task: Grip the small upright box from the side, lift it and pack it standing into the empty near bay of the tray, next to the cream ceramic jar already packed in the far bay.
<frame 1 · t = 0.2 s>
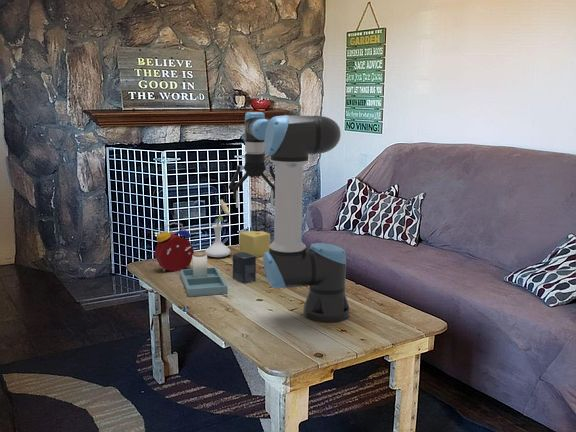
hand: (254, 207, 230), 27 cm above the table, tool pointing down, fingers open, 13 cm apart
tray: (203, 285, 220), on the table
flower in vase: (219, 255, 261), on the table
alarm clock: (175, 271, 237), on the table
yellow block: (255, 254, 263), on the table
jar: (200, 277, 227), point 1 cm above the table, touching tray
box: (244, 281, 226), on the table
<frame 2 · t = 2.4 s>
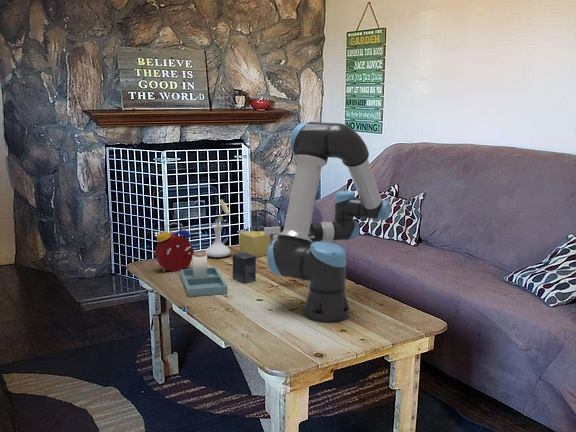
hand: (268, 235, 225), 18 cm above the table, tool horizontal, fingers open, 13 cm apart
nothing on the table moved.
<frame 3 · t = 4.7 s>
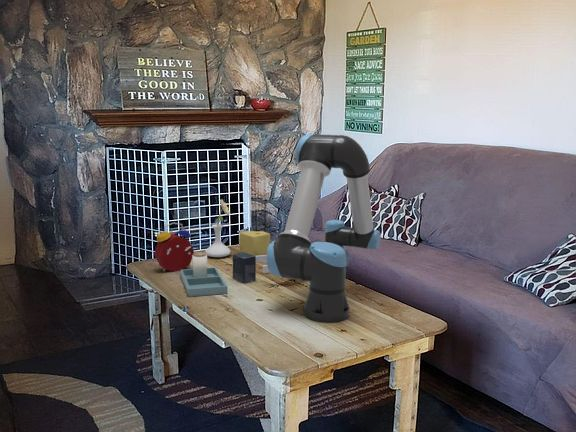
hand: (258, 264, 227), 6 cm above the table, tool horizontal, fingers open, 13 cm apart
nothing on the table moved.
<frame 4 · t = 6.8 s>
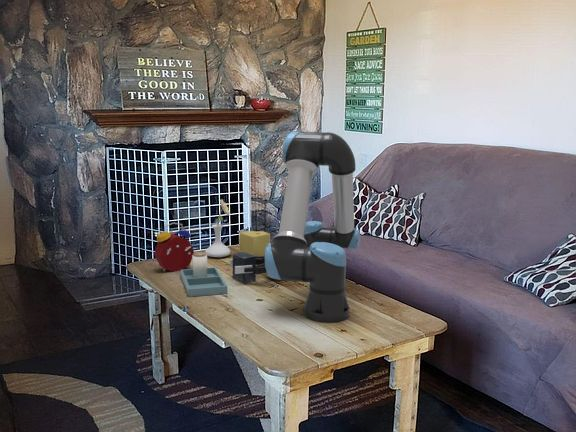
hand: (232, 266, 223), 6 cm above the table, tool horizontal, fingers closed on box, 9 cm apart
box: (244, 281, 226), on the table, touching gripper
everything else where it was.
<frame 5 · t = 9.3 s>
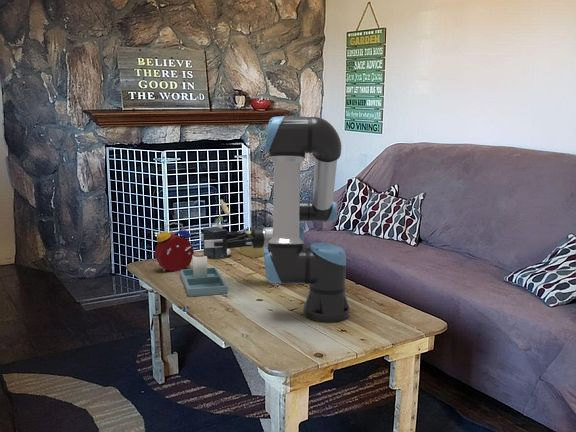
hand: (202, 240, 214), 18 cm above the table, tool horizontal, fingers closed on box, 9 cm apart
box: (215, 257, 217), point 11 cm above the table, touching gripper
everything else where it was.
when the fingers open (8 cm above the table, at t = 12.0 s): box drops 1 cm, resting on tray.
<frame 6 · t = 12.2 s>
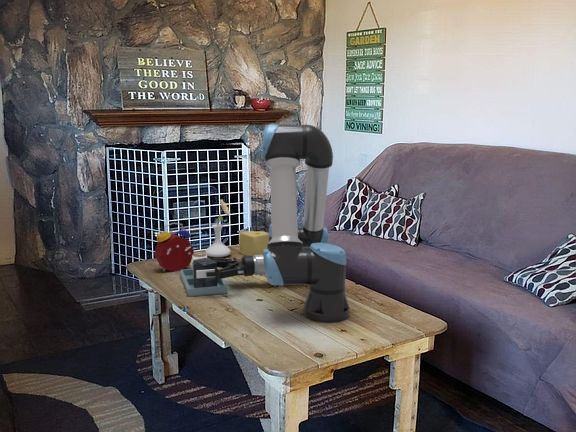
hand: (194, 269, 212), 8 cm above the table, tool horizontal, fingers open, 11 cm apart
box: (205, 289, 215), resting on tray
everything else where it was.
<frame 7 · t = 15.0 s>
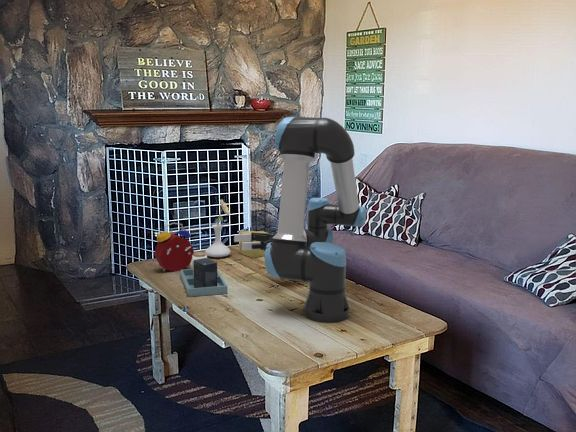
hand: (238, 242, 216), 17 cm above the table, tool horizontal, fingers open, 13 cm apart
nothing on the table moved.
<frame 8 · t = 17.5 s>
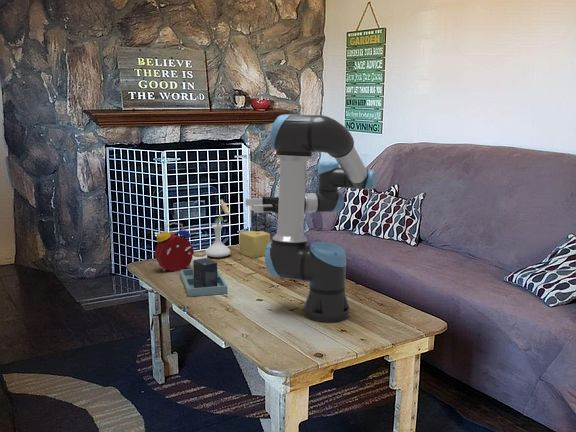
hand: (249, 205, 218), 30 cm above the table, tool horizontal, fingers open, 13 cm apart
nothing on the table moved.
at the end: box inside the target area on the tray (0.0 cm from its centre), point 0.4 cm above the tray's base; box tilted 0°; the gripper is holding nothing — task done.
